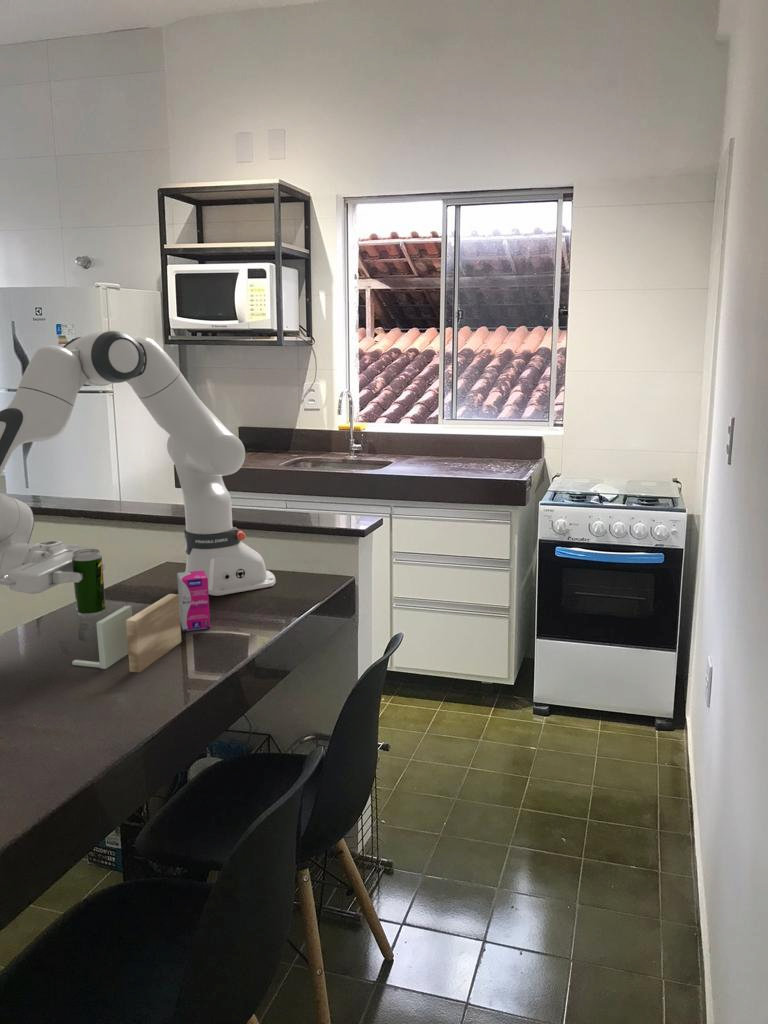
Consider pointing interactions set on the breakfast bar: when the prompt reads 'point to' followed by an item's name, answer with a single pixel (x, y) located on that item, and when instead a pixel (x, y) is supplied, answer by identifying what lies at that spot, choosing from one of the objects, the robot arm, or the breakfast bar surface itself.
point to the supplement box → (193, 600)
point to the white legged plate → (110, 639)
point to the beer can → (89, 582)
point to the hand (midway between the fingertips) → (92, 572)
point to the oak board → (153, 632)
